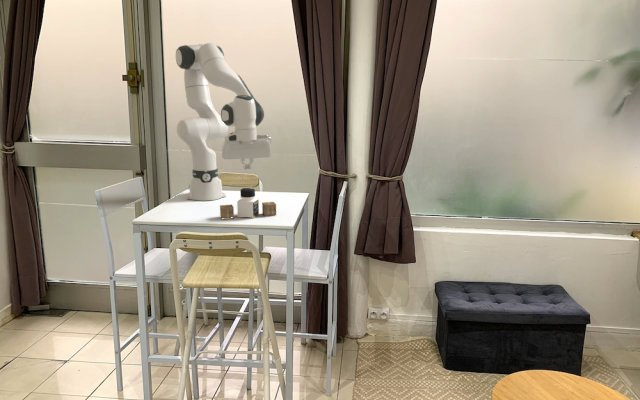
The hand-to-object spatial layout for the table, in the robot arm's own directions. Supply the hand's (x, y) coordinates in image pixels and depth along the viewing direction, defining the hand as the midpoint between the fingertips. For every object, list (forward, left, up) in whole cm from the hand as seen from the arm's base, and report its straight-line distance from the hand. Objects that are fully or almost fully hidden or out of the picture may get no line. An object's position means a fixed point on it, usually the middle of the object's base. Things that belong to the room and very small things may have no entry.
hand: (247, 169), depth 224 cm
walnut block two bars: (0, +9, -20) cm, 22 cm away
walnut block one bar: (0, -9, -20) cm, 22 cm away
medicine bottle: (0, 0, -21) cm, 21 cm away
